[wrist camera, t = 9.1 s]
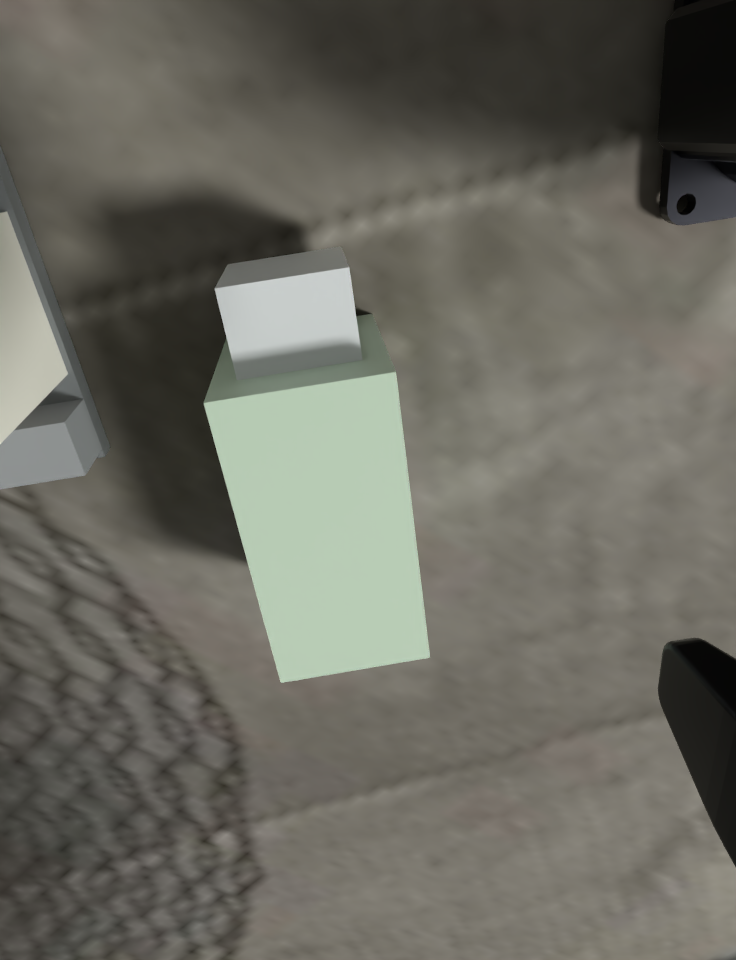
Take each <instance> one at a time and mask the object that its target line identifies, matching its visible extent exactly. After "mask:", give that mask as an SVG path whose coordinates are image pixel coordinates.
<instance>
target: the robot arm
mask: <svg viewBox="0 0 736 960" xmlns="http://www.w3.org/2000/svg"><path fill="white" fill-rule="evenodd" d="M658 142H659V143H660V144H661V145H662V146H663V148H664V150H663V163H662V177H661V190H660V203H659V208H660V214H661V216H662V218H663V219H664V220H665V221H667V222H669V223H672V224H676V225H689V224H695V223H702V222H708V221H714V220H720V219H727V218H733V217H736V0H675V3H674V13H673V14H672V15H671V17H670V18H669V20H668V21H667V23H666V28H665V42H664V56H663V70H662V85H661V99H660V113H659V127H658ZM685 194H686V195H687V198H688V203H687V206H686V208H685V209H684V210H683V211H682V212H680V213H678V212H677V207H676V205H677V202H678V200H679V199H680V198H681V196H683V195H685ZM658 695H659V700H660V703H661V707H662V709H663V712H664V714H665V716H666V718H667V721H668V723H669V725H670V728H671V730H672V732H673V735H674V737H675V739H676V742H677V744H678V746H679V749H680V751H681V753H682V755H683V758H684V760H685V762H686V765H687V767H688V769H689V772H690V774H691V776H692V779H693V781H694V783H695V786H696V788H697V790H698V792H699V795H700V797H701V799H702V802H703V804H704V806H705V809H706V811H707V813H708V815H709V817H710V819H711V822H712V824H713V826H714V828H715V830H716V832H717V834H718V835H719V837H720V839H721V841H722V843H723V845H724V847H725V849H726V850H727V852H728V854H729V856H730V858H731V859H732V861H733V863H734V865H735V867H736V659H735V658H734V657H732V656H730V655H729V654H727V653H725V652H724V651H722V650H720V649H719V648H717V647H715V646H713V645H712V644H710V643H708V642H707V641H705V640H702V639H700V638H690V639H683V640H677V641H670V642H668V643H667V644H666V645H665V646H664V649H663V653H662V661H661V669H660V676H659V684H658Z"/></svg>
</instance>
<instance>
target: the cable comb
mask: <svg viewBox="0 0 736 960" xmlns="http://www.w3.org/2000/svg"><path fill="white" fill-rule="evenodd" d="M0 212H7V213H8V215H9V218H10V221H11V223H12V226H13V229H14V231H15V234H16V237H17V239H18V242H19V245H20V247H21V250H22V253H23V255H24V258H25V261H26V263H27V266H28V269H29V271H30V274H31V277H32V279H33V282H34V285H35V287H36V290H37V293H38V295H39V298H40V301H41V303H42V306H43V309H44V311H45V314H46V317H47V319H48V322H49V325H50V327H51V330H52V332H53V335H54V338H55V340H56V343H57V346H58V348H59V351H60V354H61V356H62V359H63V362H64V364H65V367H66V370H67V372H68V375H67V376H66V377H65V378H64V379H63V380H62V381H61V382H60V383H59V384H58V385H57V386H56V387H55V388H54V389H53V390H52V391H51V392H50V393H49V394H48V395H47V396H46V397H45V398H44V399H43V401H42V402H41V403H40V404H39V405H38V406H37V407H36V408H35V409H34V410H33V411H32V412H31V413H30V414H29V415H28V416H27V417H26V418H25V419H24V420H23V421H22V422H21V423H20V424H19V425H18V426H17V427H16V429H15V430H14V431H13V432H12V433H11V434H10V435H9V436H8V437H7V438H6V439H5V440H4V441H3V442H2V443H1V444H0V489H5V488H11V487H17V486H23V485H29V484H35V483H42V482H48V481H54V480H60V479H66V478H72V477H78V476H84V475H86V474H87V472H88V470H89V469H90V467H91V466H92V464H93V463H94V461H95V459H96V458H100V457H105V456H106V454H107V453H108V451H109V449H110V448H111V447H110V445H109V442H108V439H107V436H106V434H105V431H104V428H103V426H102V423H101V420H100V417H99V415H98V412H97V409H96V406H95V404H94V401H93V398H92V395H91V393H90V390H89V387H88V384H87V382H86V379H85V376H84V373H83V371H82V368H81V365H80V362H79V360H78V357H77V354H76V351H75V349H74V346H73V343H72V340H71V338H70V335H69V332H68V329H67V327H66V324H65V321H64V319H63V316H62V313H61V310H60V308H59V305H58V302H57V299H56V297H55V294H54V291H53V288H52V286H51V283H50V280H49V277H48V275H47V272H46V269H45V266H44V264H43V261H42V258H41V255H40V253H39V250H38V247H37V244H36V242H35V239H34V236H33V233H32V231H31V228H30V225H29V222H28V220H27V217H26V214H25V212H24V209H23V206H22V203H21V201H20V198H19V195H18V192H17V190H16V187H15V184H14V181H13V179H12V176H11V173H10V170H9V168H8V165H7V162H6V159H5V157H4V154H3V151H2V148H1V146H0Z"/></svg>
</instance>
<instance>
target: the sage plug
mask: <svg viewBox="0 0 736 960" xmlns="http://www.w3.org/2000/svg"><path fill="white" fill-rule="evenodd" d="M215 293H216V297H217V301H218V305H219V309H220V313H221V317H222V321H223V325H224V329H225V333H226V341H225V343H224V346H223V349H222V352H221V355H220V358H219V360H218V363H217V366H216V369H215V372H214V375H213V377H212V380H211V383H210V386H209V389H208V392H207V395H206V397H205V400H204V407H205V410H206V414H207V417H208V421H209V425H210V428H211V432H212V435H213V439H214V443H215V446H216V450H217V454H218V457H219V461H220V464H221V468H222V472H223V475H224V479H225V483H226V486H227V490H228V493H229V497H230V501H231V504H232V508H233V511H234V515H235V519H236V522H237V526H238V530H239V533H240V537H241V540H242V544H243V548H244V551H245V555H246V558H247V562H248V566H249V569H250V573H251V577H252V580H253V584H254V587H255V591H256V595H257V598H258V602H259V606H260V609H261V613H262V616H263V620H264V624H265V627H266V631H267V634H268V638H269V642H270V645H271V649H272V653H273V656H274V660H275V663H276V667H277V671H278V674H279V678H280V681H281V683H283V682H289V681H295V680H301V679H307V678H313V677H318V676H324V675H330V674H336V673H342V672H348V671H354V670H360V669H365V668H371V667H377V666H383V665H389V664H395V663H401V662H407V661H413V660H418V659H424V658H430V653H429V645H428V637H427V628H426V620H425V612H424V603H423V595H422V586H421V578H420V570H419V561H418V553H417V545H416V536H415V528H414V519H413V511H412V503H411V494H410V486H409V478H408V469H407V461H406V452H405V444H404V436H403V427H402V419H401V410H400V402H399V394H398V385H397V377H396V371H395V368H394V366H393V364H392V361H391V359H390V356H389V354H388V351H387V349H386V346H385V344H384V341H383V339H382V337H381V334H380V332H379V329H378V327H377V324H376V322H375V319H374V317H373V314H367V315H361V316H356V311H355V304H354V297H353V290H352V283H351V276H350V270H349V265H348V263H347V260H346V258H345V255H344V252H343V250H342V247H334V248H328V249H321V250H315V251H309V252H302V253H296V254H290V255H283V256H277V257H271V258H264V259H258V260H252V261H245V262H239V263H233V264H228V265H227V266H226V268H225V270H224V272H223V274H222V276H221V278H220V279H219V281H218V283H217V285H216V287H215Z"/></svg>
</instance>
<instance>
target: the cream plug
mask: <svg viewBox="0 0 736 960" xmlns="http://www.w3.org/2000/svg"><path fill="white" fill-rule="evenodd" d="M67 375H68V372H67V370H66V367H65V364H64V362H63V359H62V356H61V354H60V351H59V348H58V346H57V343H56V340H55V338H54V335H53V332H52V330H51V327H50V325H49V322H48V319H47V317H46V314H45V311H44V309H43V306H42V303H41V301H40V298H39V295H38V293H37V290H36V287H35V285H34V282H33V279H32V277H31V274H30V271H29V269H28V266H27V263H26V261H25V258H24V255H23V253H22V250H21V247H20V245H19V242H18V239H17V237H16V234H15V231H14V229H13V226H12V223H11V221H10V218H9V215H8V213H7V212H0V444H1V443H2V442H3V441H4V440H5V439H6V438H7V437H8V436H9V435H10V434H11V433H12V432H13V431H14V430H15V429H16V427H17V426H18V425H19V424H20V423H21V422H22V421H23V420H24V419H25V418H26V417H27V416H28V415H29V414H30V413H31V412H32V411H33V410H34V409H35V408H36V407H37V406H38V405H39V404H40V403H41V402H42V401H43V399H44V398H45V397H46V396H47V395H48V394H49V393H50V392H51V391H52V390H53V389H54V388H55V387H56V386H57V385H58V384H59V383H60V382H61V381H62V380H63V379H64V378H65V377H66V376H67Z"/></svg>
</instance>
